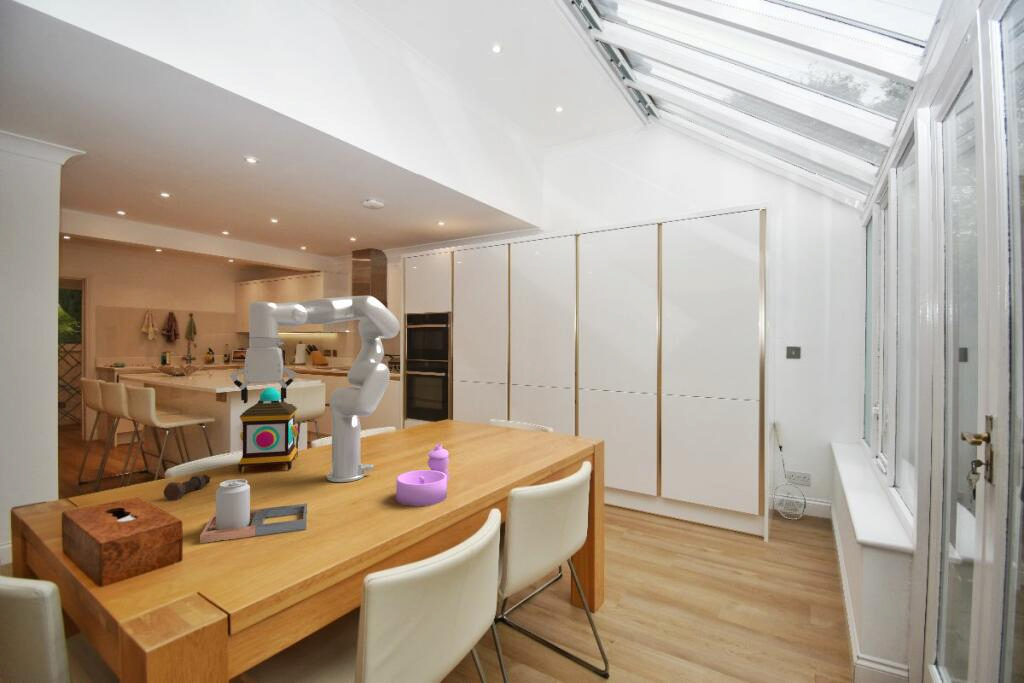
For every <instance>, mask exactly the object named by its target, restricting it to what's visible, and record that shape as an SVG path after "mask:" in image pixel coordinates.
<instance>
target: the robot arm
mask: <svg viewBox="0 0 1024 683" xmlns="http://www.w3.org/2000/svg"><path fill="white" fill-rule="evenodd" d="M248 312H249V321H248V324H249V326H248V328H249V348H247V349H246V353H245V359H244V367H243V368H242V369H239V370H237V371H235V372H233V373H231V374H229V376H230V378H231V380H232V382H233V383H234V385H235V386H237V387H238V389H240V391H241V392H240V400H241V401H243V404H247V403H248V401H249V397H248V396H249V391H248V386H249V384H251V383H252V384H253V383H254V384H255V383H256V384H259V383H260V384H262V383H264V384H265V383H278V384H279V385H280V386H281V387H280V398H281V401H282V402H284V401H285V399H287V388H288V386H290V385H291V384H292V383H293V382H294V380H295V378H296V376H297V372H295V371H293V370H291V369H289V368H287V367H285V366H284V354H283V350H282V348H279V346H281V345H284V344H285V343H284V342H285V341H284V339H281V338H279V328H297V327H300V326H302V325H325V324H326V325H328V324H335V323H342V322H349V321H358V320H359V322H358V326H357V327H358V329H357V330H358V333H359V336H360V339H361V347H360V350H359V352H358V354H357V357H356V358H355V360H354V362H353V363H352V365H351V366H350V368H349V371H348V373H347V382H348V383H349V385H351V387H349V386H343V387H338V388H335V390H333V391H332V392H331V394H330V396H329V400H328V404H329V412H330V416H331V471H330V472H329V473H328V474H326V480H328V481H330V482H334V483H348V482H349V483H350V482H353V481H357V480H358V481H359V480H361V479H362V478H364V477H365V474H366V472H367V471H374V470H375V465H374V464H370V463H367V464H363V463H362V461H361V432H362V431H361V430H362V428H361V421H360V418H361V417H363V418H364V417H365V418H366V417H369V416H371V415H372V414H374V412H375V411H376V410H377V408H378V406H379V404H380V401H381V400H382V398H383V396H384V394H385V392H386V390H387V388H388V386H389V384H390V380H391V372H390V368H389V367H388V366H387V365H386V364H384V363H382V361H383V358H384V354H385V351H384V350H385V349H384V345H383V343H382V339H385V340H386V339H393V338H395V337H396V336H397V335H398V334H399V333H400V329H401V328H400V327H401V326H400V323H399V320H398V319H397V317H396V316H395V315H394V313H393V312H391V311H390V310H389V309H388V308H387V306H385V305H384V304H383V303H382V302H381V301H380V300H379V299H377V298H375V297H374V296H372V295H350V296H340V297H339V296H338V297H325V298H315V299H309V300H301V301H291V302H290V301H288V302H276V303H275V302H271V301H253V302H251V303H250V304H249V311H248ZM284 373H285V374H288V375H289V376H290V377H289V378H288V380H286V381H285V379H284V376H285V374H284ZM242 374H243V377H244V378H243V379H244V382H243V383H242V381H240V379H239V378H238V377H239V376H240V375H241V376H242ZM352 386H353V387H352ZM359 417H360V418H359Z"/></svg>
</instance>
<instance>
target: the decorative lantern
mask: <svg viewBox="0 0 1024 683" xmlns="http://www.w3.org/2000/svg"><path fill="white" fill-rule="evenodd" d="M297 411H298V407H297V406H295V405H294V404H292V403H287V402H286V401H285V400H284V402H282V401H281V392H280V391H278V390H277V389H276V388H275V387H272V386H269V387H267V388H264V390H263V391H262V392H261V393H260V395H259V400H258V401H257V403H256V404H254V405H252V406H250V407H248V408H247V409H246V410H245V411H243V412H242V413H241V414H240V415H239V419H240V421H241V423H242V432H240V436H239V437H240V440H241V441H242V456H241V458H240V460H239V463H238V464H237V466H238V468H237V470H238V473H239V474H243V473H244V471H245V470H244V469H245V467H246V466H247V467H248V466H249V467H251V466H263V465H278V464H280V465H281V464H284V465H286V468H287V470H288V471H290V469H292V468H293V467H292V464H293V461H294V460H297V459H298V454H299V451H298V449H297V447H296V445H295V438H296V437H298V435H299V429H298V427H297V425H295V418H296V417H295V416H296V413H297ZM296 458H297V459H296Z"/></svg>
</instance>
